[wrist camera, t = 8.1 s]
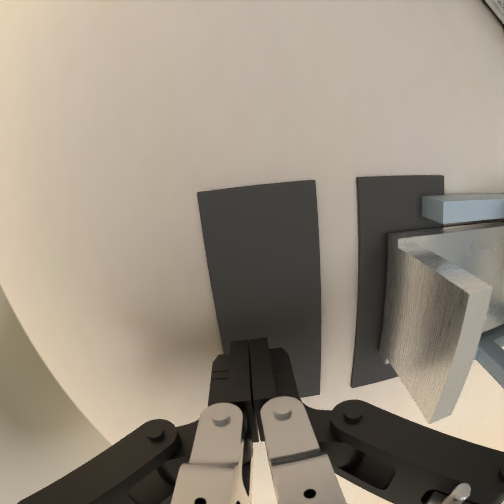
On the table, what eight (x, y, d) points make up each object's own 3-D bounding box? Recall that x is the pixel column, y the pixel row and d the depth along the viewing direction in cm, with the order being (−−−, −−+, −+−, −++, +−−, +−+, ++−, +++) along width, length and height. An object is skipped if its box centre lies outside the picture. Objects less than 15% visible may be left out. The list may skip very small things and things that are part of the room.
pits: (441, 175, 12) (443, 175, 12) (419, 367, 16) (421, 369, 16) (197, 192, 12) (197, 192, 12) (235, 402, 16) (234, 405, 16)
